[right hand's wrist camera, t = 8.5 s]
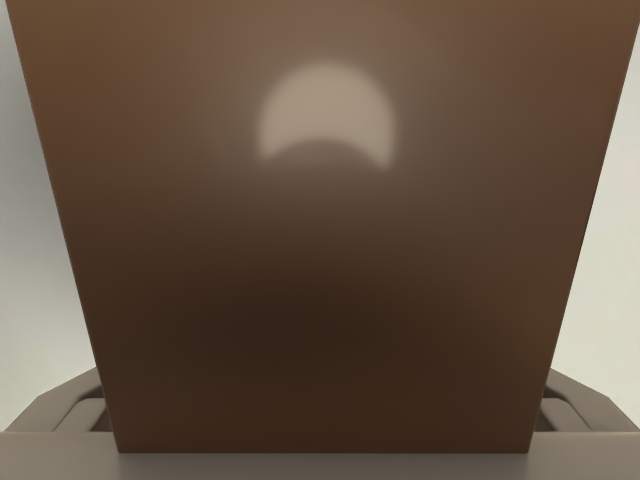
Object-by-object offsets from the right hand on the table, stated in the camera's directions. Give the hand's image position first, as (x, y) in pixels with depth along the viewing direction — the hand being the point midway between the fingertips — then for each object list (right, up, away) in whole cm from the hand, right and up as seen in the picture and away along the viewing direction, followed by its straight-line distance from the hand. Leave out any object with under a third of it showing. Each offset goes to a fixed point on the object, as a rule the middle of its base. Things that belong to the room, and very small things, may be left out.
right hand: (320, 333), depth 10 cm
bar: (0, +10, -1) cm, 10 cm away
